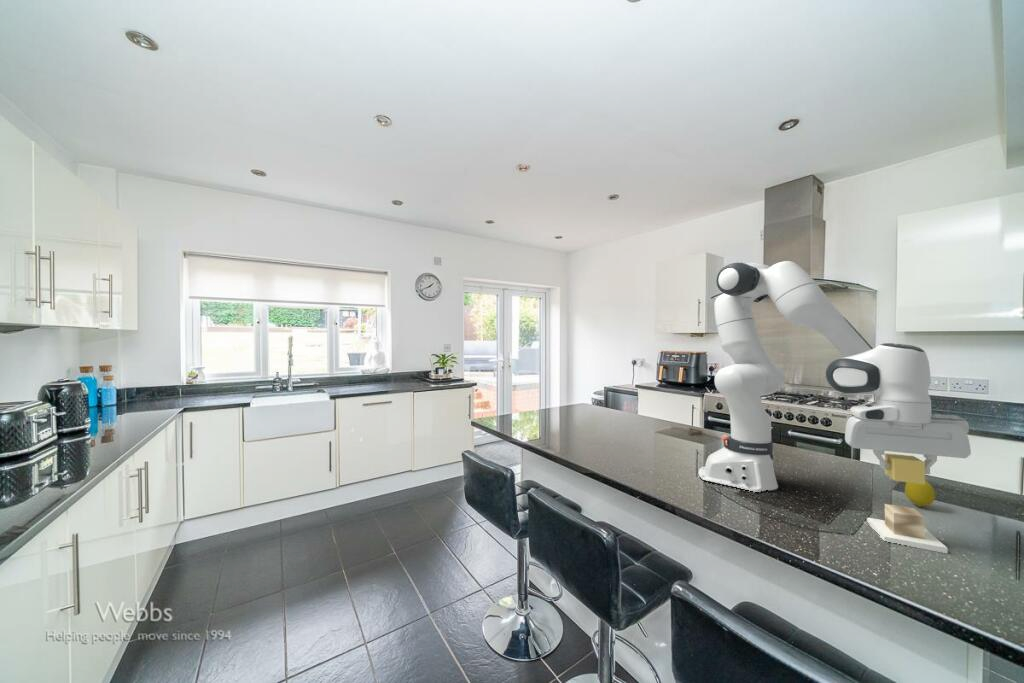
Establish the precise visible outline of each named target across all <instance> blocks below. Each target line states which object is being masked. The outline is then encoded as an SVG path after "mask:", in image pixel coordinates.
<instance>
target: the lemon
mask: <svg viewBox="0 0 1024 683" xmlns="http://www.w3.org/2000/svg"><path fill="white" fill-rule="evenodd" d="M904 493H905V496H906V498H907V499H908V500H909V501H910V502H911V503H914V504H915V505H916V506H917V507H919V508H923V507H924V506H926V507H927V506H930V505H932V504H933V503H934V502H935V499H936V491H935V489H934V488H933V486H932V484H931V483H929V482H928V481H927V480H925V484H917V483H909V482H905V486H904Z"/></svg>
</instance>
